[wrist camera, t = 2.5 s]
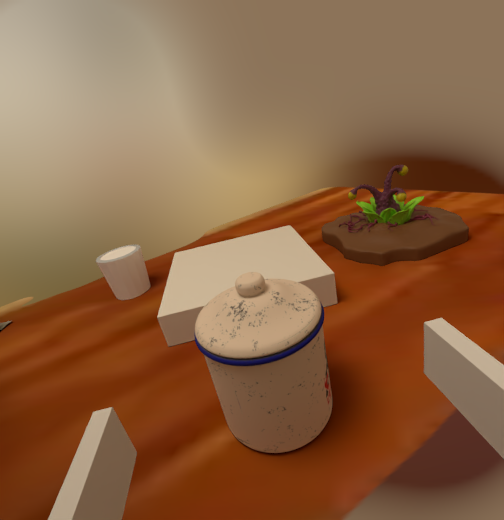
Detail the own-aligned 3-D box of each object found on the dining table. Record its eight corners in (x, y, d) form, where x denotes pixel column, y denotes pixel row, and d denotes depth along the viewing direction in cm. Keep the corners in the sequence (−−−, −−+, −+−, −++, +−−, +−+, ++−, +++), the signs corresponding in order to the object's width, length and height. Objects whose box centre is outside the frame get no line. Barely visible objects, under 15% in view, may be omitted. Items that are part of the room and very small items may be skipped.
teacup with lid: (362, 419, 22) (349, 277, 18) (247, 486, 20) (198, 341, 15) (284, 334, 33) (263, 231, 28) (203, 370, 30) (166, 264, 26)
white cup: (137, 278, 56) (123, 243, 53) (162, 282, 52) (149, 244, 49) (104, 299, 50) (86, 260, 48) (129, 304, 47) (112, 263, 44)
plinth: (168, 346, 35) (157, 317, 33) (181, 273, 53) (175, 253, 52) (337, 303, 36) (334, 273, 34) (293, 246, 54) (289, 225, 53)
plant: (499, 241, 42) (510, 156, 38) (365, 277, 41) (359, 194, 36) (407, 209, 60) (407, 150, 56) (312, 234, 59) (305, 175, 55)
